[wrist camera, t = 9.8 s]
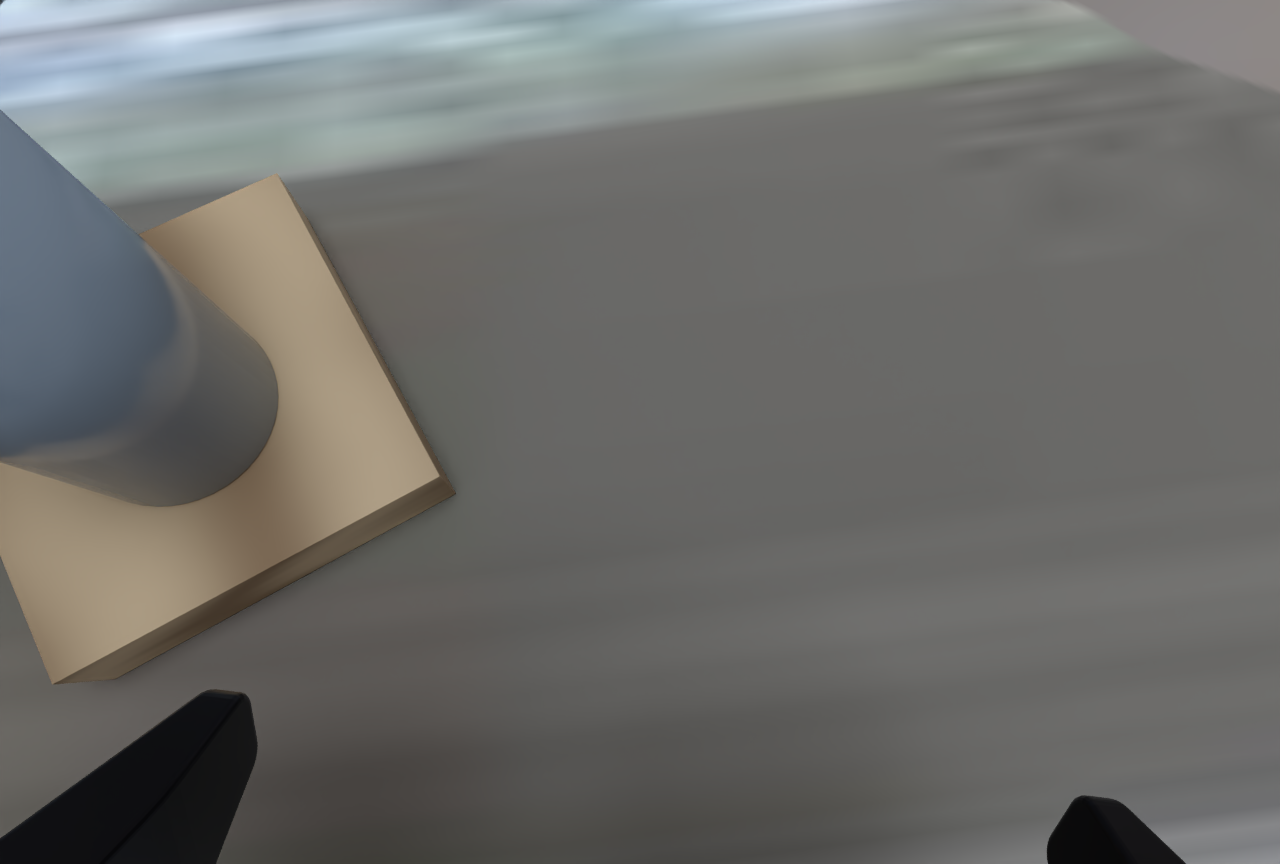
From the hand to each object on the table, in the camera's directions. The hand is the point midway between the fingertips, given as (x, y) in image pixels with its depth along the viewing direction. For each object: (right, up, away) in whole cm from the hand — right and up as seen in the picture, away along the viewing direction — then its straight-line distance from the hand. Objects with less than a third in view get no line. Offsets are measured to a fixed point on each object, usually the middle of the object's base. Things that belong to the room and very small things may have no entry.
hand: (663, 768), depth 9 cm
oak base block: (-12, +4, +14) cm, 19 cm away
